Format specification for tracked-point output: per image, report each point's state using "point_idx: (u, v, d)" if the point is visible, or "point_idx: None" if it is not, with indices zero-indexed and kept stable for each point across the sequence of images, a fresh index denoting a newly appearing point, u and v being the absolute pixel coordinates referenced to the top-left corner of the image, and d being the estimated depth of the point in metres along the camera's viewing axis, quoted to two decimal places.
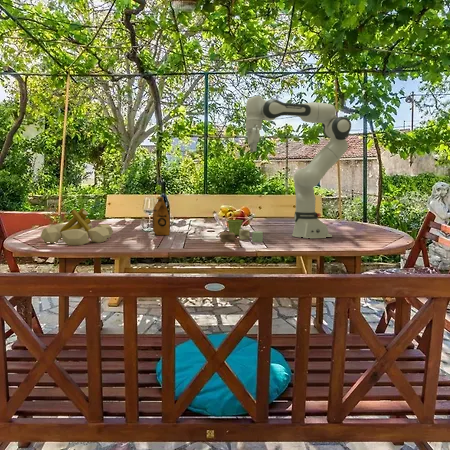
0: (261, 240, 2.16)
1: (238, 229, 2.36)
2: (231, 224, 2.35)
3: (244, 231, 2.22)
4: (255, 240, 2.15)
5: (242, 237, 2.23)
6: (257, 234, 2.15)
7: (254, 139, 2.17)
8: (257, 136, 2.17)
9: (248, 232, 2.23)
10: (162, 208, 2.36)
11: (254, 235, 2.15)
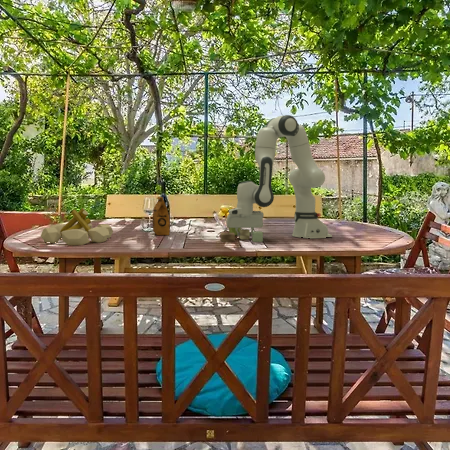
0: (261, 240, 2.16)
1: (238, 229, 2.36)
2: None
3: (244, 231, 2.22)
4: (255, 240, 2.15)
5: (242, 237, 2.23)
6: (257, 234, 2.15)
7: (262, 225, 2.24)
8: None
9: (248, 232, 2.23)
10: (162, 208, 2.36)
11: (254, 235, 2.15)
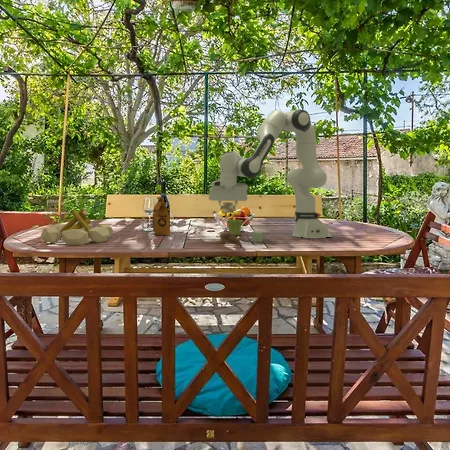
0: (261, 240, 2.16)
1: (238, 229, 2.36)
2: (231, 224, 2.35)
3: (227, 204, 2.12)
4: (255, 240, 2.15)
5: (225, 210, 2.12)
6: (257, 234, 2.15)
7: None
8: None
9: (231, 205, 2.12)
10: (162, 208, 2.36)
11: (254, 235, 2.15)
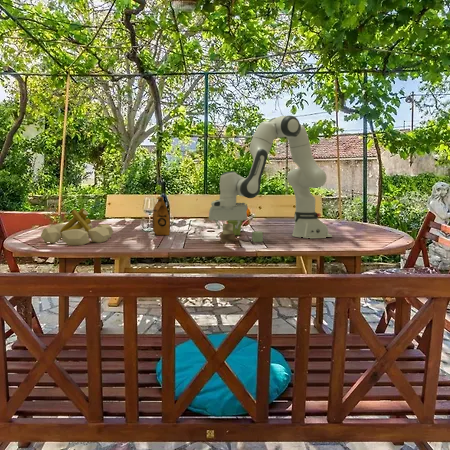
0: (261, 240, 2.16)
1: (238, 229, 2.36)
2: None
3: (227, 225, 2.13)
4: (255, 240, 2.15)
5: (225, 232, 2.14)
6: (257, 234, 2.15)
7: (246, 218, 2.15)
8: None
9: (231, 226, 2.13)
10: (162, 208, 2.36)
11: (254, 235, 2.15)
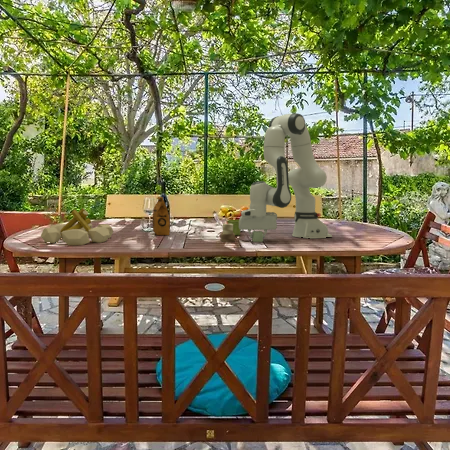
0: (261, 240, 2.16)
1: (238, 229, 2.36)
2: None
3: (227, 225, 2.13)
4: (255, 240, 2.15)
5: (225, 232, 2.14)
6: (257, 234, 2.15)
7: None
8: None
9: (231, 226, 2.13)
10: (162, 208, 2.36)
11: (254, 235, 2.15)
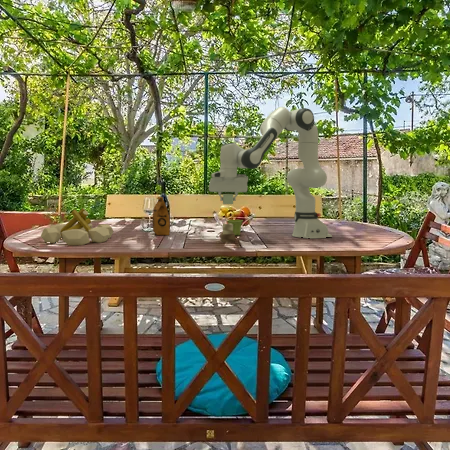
0: (231, 202, 2.12)
1: (238, 229, 2.36)
2: None
3: (227, 225, 2.13)
4: (225, 202, 2.12)
5: (225, 232, 2.14)
6: (227, 196, 2.11)
7: None
8: None
9: (231, 226, 2.13)
10: (162, 208, 2.36)
11: (224, 197, 2.11)
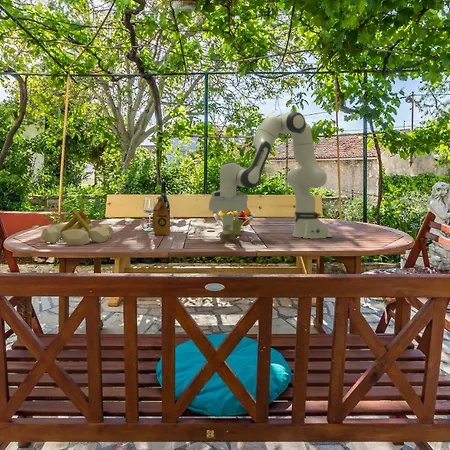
0: (231, 223, 2.13)
1: (238, 229, 2.36)
2: None
3: (227, 225, 2.13)
4: (225, 223, 2.13)
5: (225, 232, 2.14)
6: (227, 217, 2.13)
7: (246, 208, 2.14)
8: None
9: (231, 226, 2.13)
10: (162, 208, 2.36)
11: (224, 218, 2.13)
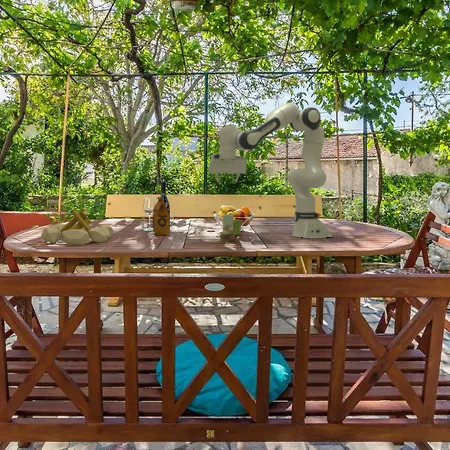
0: (231, 223, 2.13)
1: (238, 229, 2.36)
2: None
3: (227, 225, 2.13)
4: (225, 223, 2.13)
5: (225, 232, 2.14)
6: (227, 217, 2.13)
7: None
8: None
9: (231, 226, 2.13)
10: (162, 208, 2.36)
11: (224, 218, 2.13)
